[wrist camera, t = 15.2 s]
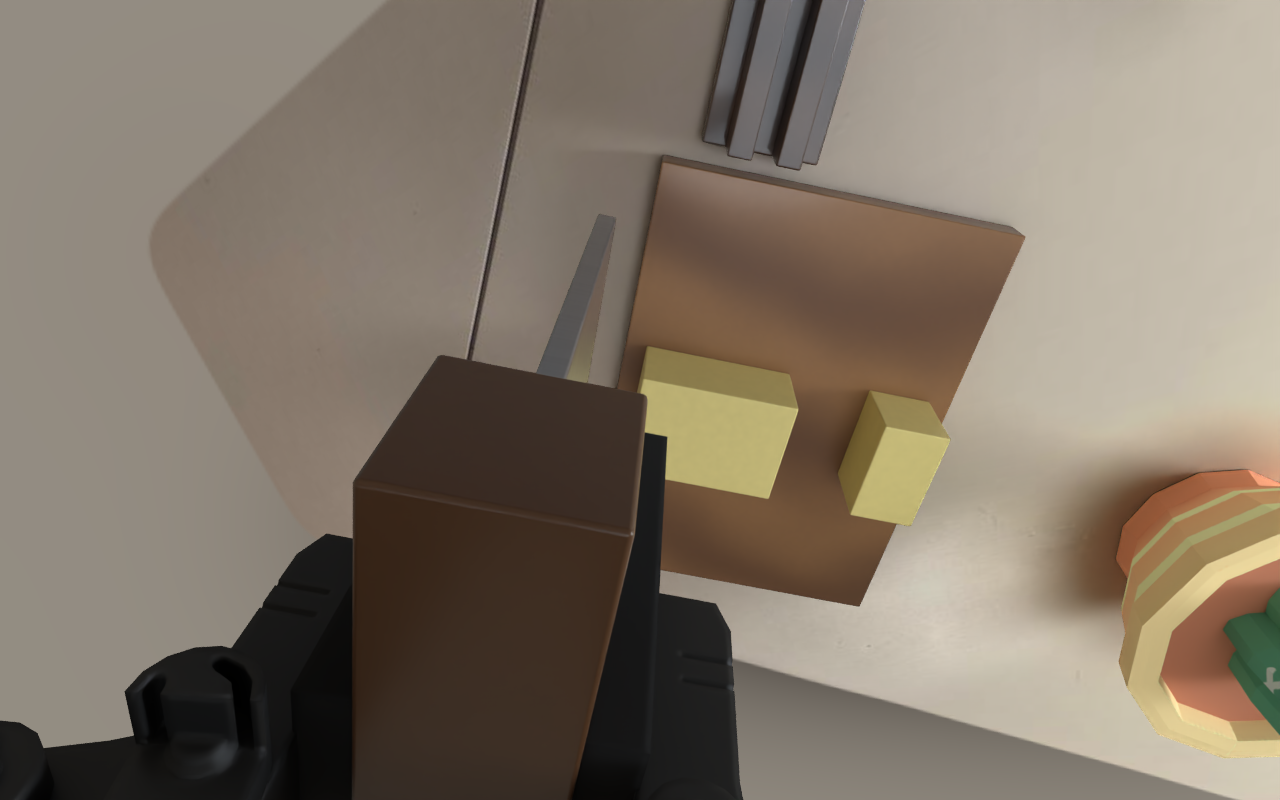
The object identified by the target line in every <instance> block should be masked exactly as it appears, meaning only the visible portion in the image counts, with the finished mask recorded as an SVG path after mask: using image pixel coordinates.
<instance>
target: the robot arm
mask: <svg viewBox="0 0 1280 800" xmlns="http://www.w3.org/2000/svg"><path fill="white" fill-rule="evenodd" d="M666 456H667V437H666V436H661V435H656V434H651V433H646V432H645V435H644V446H643V456H642V466H641V477H640V487H639V497H638V508H637V518H636V528H635V536H634V541H633V545H632V549H631V553H630V557H629V562H628V566H627V570H626V574H625V578H624V583H623V587H622V591H621V595H620V599H619V604H618V608H617V612H616V616H615V620H614V625H613V629H612V633H611V637H610V641H609V646H608V650H607V654H606V658H605V663H604V667H603V671H602V675H601V679H600V684H599V688H598V692H597V696H596V700H595V705H594V709H593V713H592V717H591V721H590V726H589V730H588V734H587V738H586V742H585V747H584V751H583V755H582V759H581V763H580V768H579V772H578V776H577V780H576V784H575V789H574V793H573V797H572V800H743V797H742V791H741V786H740V779H739V762H738V745H737V728H736V711H735V696H734V691H733V686H734V679H733V667H732V646H731V631H730V629H729V627H728V626H727V624H726V622H725V620H724V618H723V616H722V614H721V612H720V610H719V609H718V607H717V605H716V604H715V603H710V602H704V601H699V600H693V599H688V598H683V597H677V596H672V595H666V594H661V593H659V587H660V568H661V549H662V531H663V512H664V493H665V474H666ZM352 626H353V539H352V538H347V537H341V536H336V535H331V534H325V535H324V536H323V537H321V538H320V539H318V540H317V541H315V542H314V543H312V544H311V545H309V546H308V547H307V548H305V549H303V550H302V551H301V552H299V553H298V554H297V555H296V556H295V558H294V559H293V561H292V562H291V564H290V565H289V566H288V568H287V569H286V571H285V572H284V573H283V575H282V576H281V578H280V579H279V582H278V585H277V586H274V588H273V589H272V591H271V592H270V593H269V595H268V597H267V598H266V599H265V601H264V602H263V607H262V608H259V609H258V611H257V612H256V614H255V615H254V616H253V618H252V620H251V621H250V622H249V624H248V625H247V627H246V628H245V629H244V631H243V632H242V634H241V635H240V637H239V638H238V639H237V641H236V642H235V644H234V645H233V647H232V648H227V647H223V646H213V647H197V648H192V649H189V650H186V651H183V652H180V653H177V654H174V655H170V656H167V657H166V658H164V659H162V660H161V661H159V662H158V663H156V664H154V665H153V666H151V667H149V668H148V669H146V670H145V671H143V672H142V673H141V674H140V675H139V676H138V677H137V679H136V680H135V681H134V682H133V683H132V684H131V685H130V686H129V687H128V688H127V689H126V691H125V696H126V700H127V705H128V709H129V714H130V719H131V723H132V728H133V732H134V736H130V737H125V738H120V739H115V740H111V741H102V742H93V743H85V744H76V745H67V746H59V747H51V748H43V746H42V743H41V741H40V738H39V736H38V733H36V732H35V731H33V730H31V729H29V728H28V727H26V726H25V725H23V724H21V723H17V722H8V721H0V800H352Z"/></svg>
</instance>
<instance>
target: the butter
mask: <svg viewBox="0 0 1280 800" xmlns="http://www.w3.org/2000/svg"><path fill="white" fill-rule="evenodd" d="M637 393H641V394H644V395H646V396H647V399H648V404H647V414H646V425H645V432H646V433H651V434H656V435H661V436H666V437H667V456H666V474H665V479H666V480H671V481H677V482H682V483H687V484H692V485H697V486H703V487H708V488H713V489H718V490H724V491H729V492H734V493H739V494H745V495H750V496H755V497H760V498H766V499H768V498H769V496H770V493H771V490H772V487H773V484H774V481H775V478H776V475H777V472H778V469H779V466H780V463H781V460H782V457H783V454H784V451H785V448H786V445H787V443H788V440H789V437H790V434H791V431H792V428H793V425H794V422H795V419H796V416H797V413H798V406H797V402H796V398H795V394H794V390H793V386H792V382H791V378H790V375H789V374H786V373H781V372H776V371H771V370H766V369H761V368H756V367H751V366H746V365H741V364H736V363H730V362H725V361H720V360H715V359H710V358H705V357H700V356H695V355H690V354H685V353H680V352H675V351H670V350H665V349H660V348H655V347H650V346H647V348H646V353H645V357H644V362H643V367H642V371H641V376H640V381H639V385H638V390H637Z"/></svg>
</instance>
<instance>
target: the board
mask: <svg viewBox="0 0 1280 800" xmlns="http://www.w3.org/2000/svg"><path fill="white" fill-rule="evenodd" d="M1024 240H1025V236H1024V235H1022V234H1021V233H1020V232H1018V231H1017V230H1016V229H1014V228H1013V227H1009V226H1004V225H999V224H995V223H990V222H985V221H980V220H975V219H971V218H966V217H961V216H956V215H951V214H947V213H942V212H937V211H932V210H927V209H922V208H918V207H913V206H908V205H903V204H898V203H894V202H889V201H884V200H879V199H874V198H869V197H865V196H860V195H855V194H850V193H845V192H841V191H836V190H831V189H826V188H821V187H817V186H812V185H807V184H802V183H797V182H792V181H788V180H783V179H778V178H773V177H768V176H764V175H759V174H754V173H749V172H744V171H740V170H735V169H730V168H725V167H720V166H715V165H711V164H706V163H701V162H696V161H691V160H687V159H682V158H677V157H672V156H667V155H663V158H662V163H661V168H660V173H659V178H658V183H657V188H656V193H655V198H654V203H653V208H652V213H651V218H650V223H649V229H648V234H647V239H646V244H645V249H644V254H643V259H642V264H641V269H640V274H639V279H638V284H637V289H636V294H635V299H634V304H633V309H632V315H631V320H630V325H629V330H628V335H627V340H626V345H625V350H624V355H623V360H622V365H621V370H620V375H619V380H618V385H617V389H620V390H625V391H631V392H636V393H637V390H638V385H639V381H640V376H641V371H642V367H643V362H644V357H645V353H646V348H647V346H650V347H655V348H660V349H665V350H670V351H675V352H680V353H685V354H690V355H695V356H700V357H705V358H710V359H715V360H720V361H725V362H730V363H736V364H741V365H746V366H751V367H756V368H761V369H766V370H771V371H776V372H781V373H786V374H789V375H790V378H791V382H792V386H793V390H794V394H795V398H796V402H797V406H798V413H797V416H796V419H795V422H794V425H793V428H792V431H791V434H790V437H789V440H788V443H787V445H786V448H785V451H784V454H783V457H782V460H781V463H780V466H779V469H778V472H777V475H776V478H775V481H774V484H773V487H772V490H771V493H770V496H769V498H768V499H766V498H760V497H755V496H750V495H745V494H739V493H734V492H729V491H724V490H718V489H713V488H708V487H703V486H697V485H692V484H687V483H682V482H677V481H671V480H666V479H665V493H664V512H663V531H662V549H661V568H660V570H665V571H670V572H676V573H681V574H686V575H692V576H697V577H702V578H708V579H713V580H719V581H724V582H729V583H735V584H740V585H745V586H751V587H756V588H762V589H767V590H772V591H778V592H783V593H788V594H794V595H799V596H805V597H810V598H815V599H821V600H826V601H831V602H837V603H842V604H847V605H853V606H858V607H859V606H860V604H861V602H862V600H863V598H864V595H865V593H866V591H867V589H868V586H869V584H870V582H871V580H872V578H873V575H874V573H875V571H876V569H877V566H878V564H879V562H880V560H881V558H882V555H883V553H884V551H885V549H886V546H887V544H888V542H889V540H890V538H891V535H892V533H893V531H894V529H895V526H896V524H895V523H890V522H885V521H880V520H874V519H869V518H864V517H859V516H854V515H850V513H849V509H848V506H847V503H846V500H845V496H844V493H843V490H842V486H841V483H840V480H839V476H838V471H839V469H840V466H841V464H842V461H843V458H844V456H845V453H846V451H847V448H848V445H849V443H850V440H851V438H852V435H853V432H854V430H855V427H856V425H857V422H858V420H859V417H860V414H861V412H862V409H863V407H864V404H865V401H866V399H867V396H868V394H869V391H875V392H880V393H885V394H890V395H896V396H901V397H906V398H911V399H916V400H921V401H926V402H929V403H930V405H931V406H932V408H933V410H934V412H935V413H936V415H937V417H938V419H939V420H940V422H941V424H942V422H943V420H944V418H945V415H946V413H947V411H948V409H949V406H950V404H951V402H952V400H953V398H954V395H955V393H956V391H957V389H958V386H959V384H960V382H961V380H962V378H963V375H964V373H965V371H966V369H967V366H968V364H969V362H970V360H971V358H972V355H973V353H974V351H975V349H976V346H977V344H978V342H979V340H980V338H981V335H982V333H983V331H984V329H985V326H986V324H987V322H988V320H989V318H990V315H991V313H992V311H993V309H994V306H995V304H996V302H997V300H998V298H999V295H1000V293H1001V291H1002V289H1003V286H1004V284H1005V282H1006V280H1007V277H1008V275H1009V273H1010V271H1011V269H1012V266H1013V264H1014V262H1015V260H1016V257H1017V255H1018V253H1019V251H1020V249H1021V246H1022V244H1023V242H1024Z"/></svg>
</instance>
